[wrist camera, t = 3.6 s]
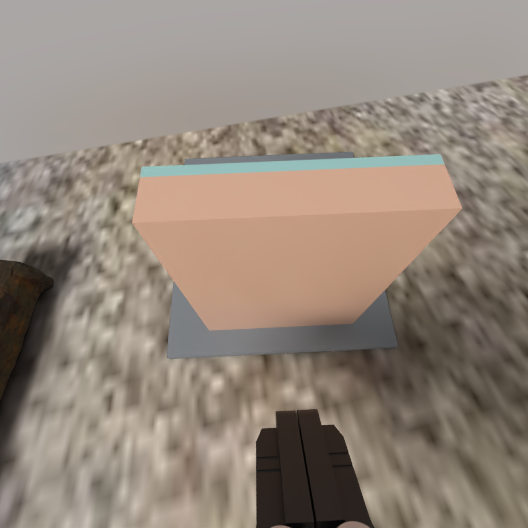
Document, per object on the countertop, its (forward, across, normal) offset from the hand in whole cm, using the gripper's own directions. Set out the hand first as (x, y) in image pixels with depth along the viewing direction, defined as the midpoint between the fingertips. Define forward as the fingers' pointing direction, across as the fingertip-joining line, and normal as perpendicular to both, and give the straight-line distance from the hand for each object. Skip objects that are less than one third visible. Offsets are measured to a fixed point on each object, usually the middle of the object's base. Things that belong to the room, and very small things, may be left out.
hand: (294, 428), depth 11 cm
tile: (+9, 0, 0) cm, 9 cm away
